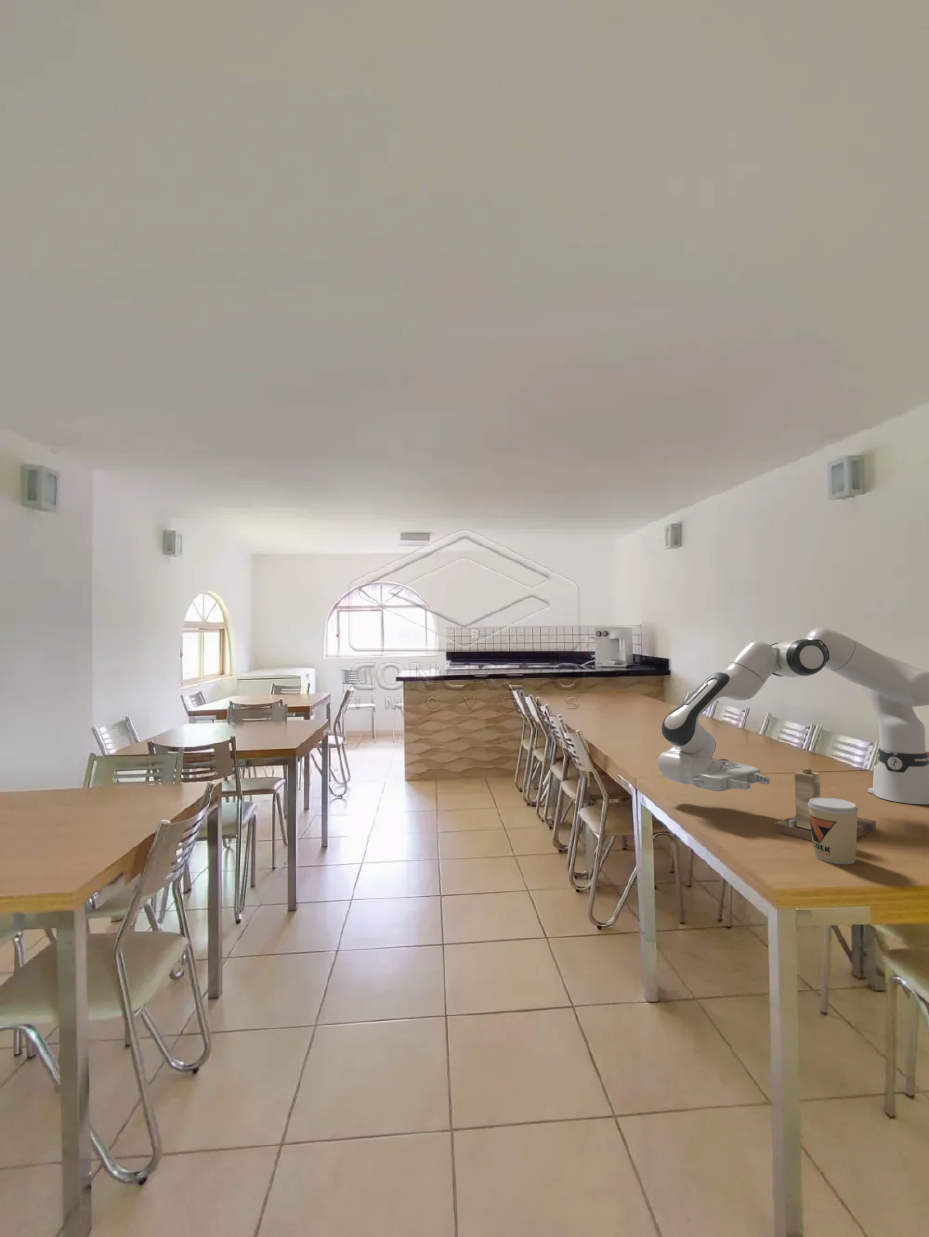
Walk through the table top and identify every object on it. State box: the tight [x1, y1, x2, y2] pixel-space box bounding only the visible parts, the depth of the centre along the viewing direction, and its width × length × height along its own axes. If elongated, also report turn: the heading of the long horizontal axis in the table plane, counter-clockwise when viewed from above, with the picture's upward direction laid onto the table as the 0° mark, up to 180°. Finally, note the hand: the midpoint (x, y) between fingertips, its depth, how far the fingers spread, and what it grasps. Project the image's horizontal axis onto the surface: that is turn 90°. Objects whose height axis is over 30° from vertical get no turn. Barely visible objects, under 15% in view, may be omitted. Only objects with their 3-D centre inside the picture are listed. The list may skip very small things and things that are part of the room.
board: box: [773, 815, 877, 842], centre depth 146 cm, size 22×14×4 cm, turn 124°
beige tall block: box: [794, 767, 822, 830], centre depth 142 cm, size 4×5×14 cm
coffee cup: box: [808, 797, 859, 865], centre depth 128 cm, size 9×9×12 cm
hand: (758, 783), depth 152 cm, fingers open, 8 cm apart
